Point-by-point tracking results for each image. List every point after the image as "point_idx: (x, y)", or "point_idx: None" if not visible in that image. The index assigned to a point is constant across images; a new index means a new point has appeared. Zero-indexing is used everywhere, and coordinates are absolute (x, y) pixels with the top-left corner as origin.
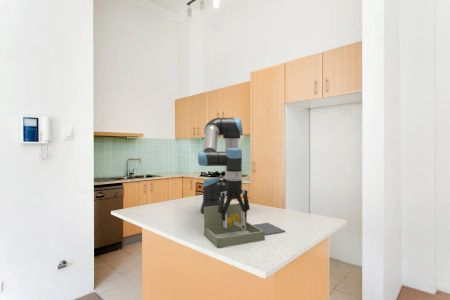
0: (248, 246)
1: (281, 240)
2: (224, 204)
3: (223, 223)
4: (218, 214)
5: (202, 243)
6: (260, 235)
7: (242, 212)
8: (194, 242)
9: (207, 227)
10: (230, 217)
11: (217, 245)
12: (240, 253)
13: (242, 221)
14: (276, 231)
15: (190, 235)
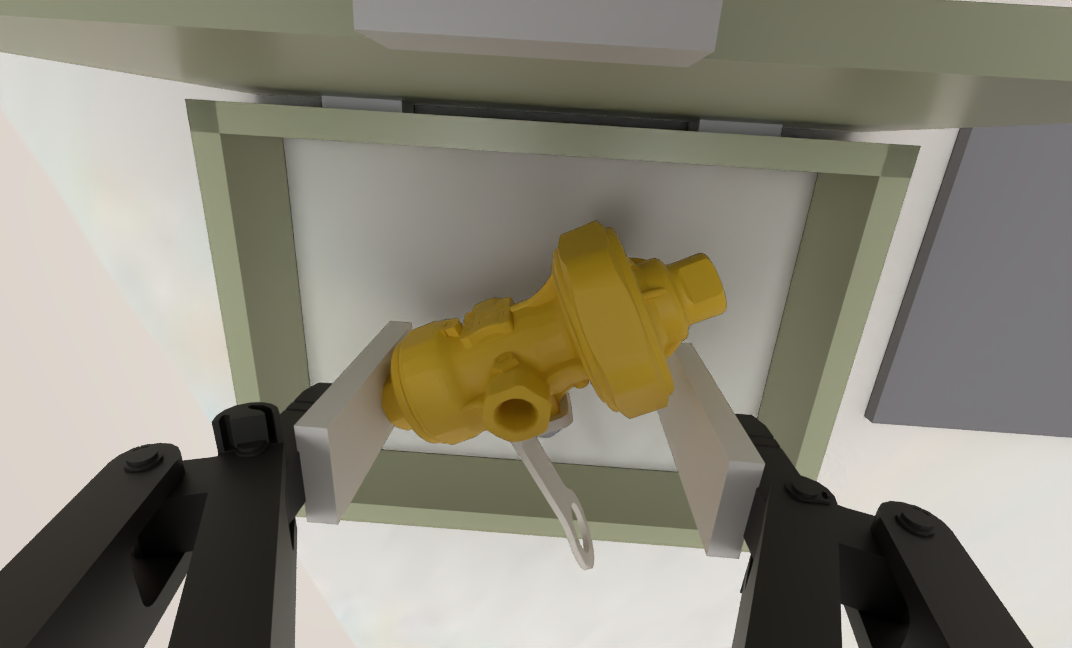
0: None
1: None
2: (181, 607)
3: (374, 344)
4: (338, 73)
5: (190, 311)
6: None
7: (710, 515)
8: (114, 251)
9: (223, 111)
10: (473, 405)
11: None
12: (423, 594)
13: (670, 416)
14: (1039, 412)
15: None
